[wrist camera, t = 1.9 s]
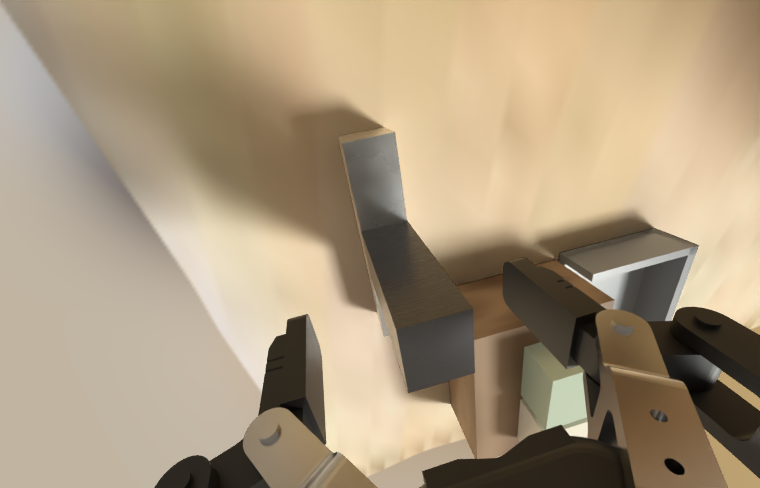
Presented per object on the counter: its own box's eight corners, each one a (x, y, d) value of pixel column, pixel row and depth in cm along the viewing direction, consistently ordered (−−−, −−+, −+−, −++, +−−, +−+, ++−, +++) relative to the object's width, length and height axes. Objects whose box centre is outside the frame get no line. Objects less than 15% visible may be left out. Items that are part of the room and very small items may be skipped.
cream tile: (580, 380, 21) (610, 414, 19) (571, 419, 23) (598, 453, 21) (520, 399, 21) (545, 435, 18) (517, 437, 23) (539, 473, 21)
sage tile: (591, 327, 19) (628, 358, 17) (580, 375, 21) (612, 409, 19) (524, 346, 18) (553, 381, 16) (520, 394, 20) (545, 430, 18)
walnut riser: (555, 259, 23) (614, 300, 18) (541, 376, 29) (583, 428, 24) (440, 290, 22) (473, 340, 17) (451, 404, 28) (477, 463, 23)
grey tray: (654, 228, 23) (698, 245, 20) (618, 356, 30) (648, 382, 27) (560, 253, 22) (593, 274, 20) (544, 379, 29) (567, 408, 26)
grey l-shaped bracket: (383, 126, 16) (468, 165, 7) (410, 302, 22) (477, 443, 13) (337, 136, 16) (368, 188, 7) (376, 311, 22) (421, 461, 13)
